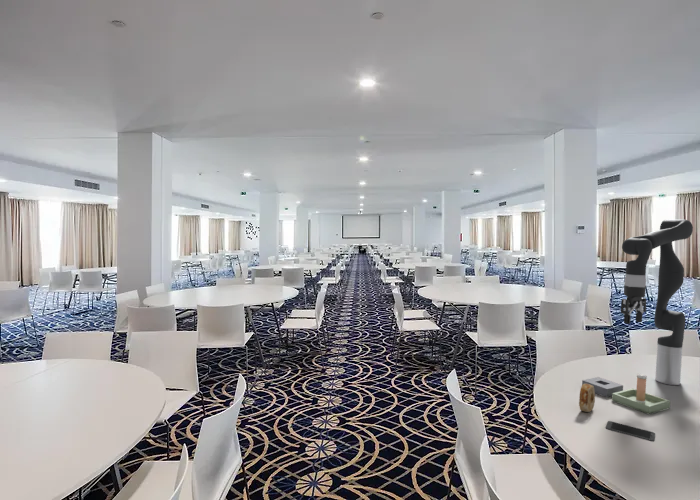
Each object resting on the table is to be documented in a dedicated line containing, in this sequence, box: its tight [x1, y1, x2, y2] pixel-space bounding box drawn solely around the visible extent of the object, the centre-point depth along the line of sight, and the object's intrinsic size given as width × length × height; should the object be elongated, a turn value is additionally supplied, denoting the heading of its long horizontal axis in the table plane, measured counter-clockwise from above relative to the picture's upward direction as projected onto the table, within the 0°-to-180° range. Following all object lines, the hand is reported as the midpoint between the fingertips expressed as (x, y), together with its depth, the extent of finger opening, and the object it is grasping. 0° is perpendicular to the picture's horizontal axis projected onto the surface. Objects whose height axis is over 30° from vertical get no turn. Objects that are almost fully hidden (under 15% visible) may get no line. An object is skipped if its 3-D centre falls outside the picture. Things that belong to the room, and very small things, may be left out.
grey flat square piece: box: [581, 376, 624, 398], centre depth 181 cm, size 11×11×4 cm
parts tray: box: [611, 388, 671, 415], centre depth 167 cm, size 14×14×3 cm
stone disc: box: [578, 384, 596, 413], centre depth 160 cm, size 10×4×10 cm, turn 134°
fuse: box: [636, 373, 648, 404], centre depth 167 cm, size 3×3×11 cm
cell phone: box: [604, 420, 656, 442], centre depth 144 cm, size 7×14×1 cm, turn 51°
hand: (632, 322), depth 179 cm, fingers open, 8 cm apart
